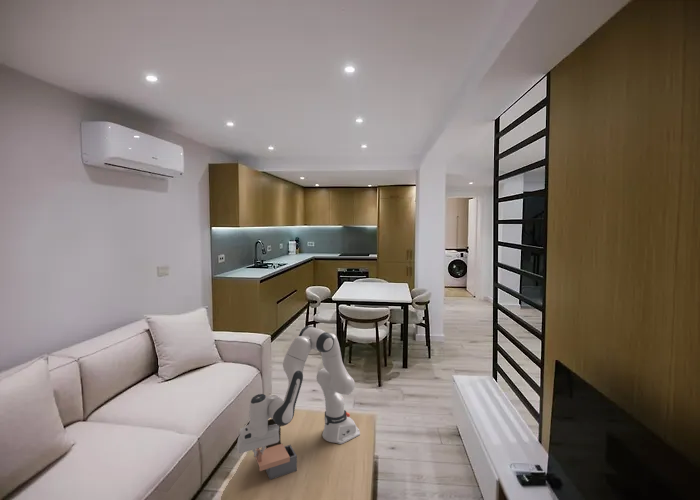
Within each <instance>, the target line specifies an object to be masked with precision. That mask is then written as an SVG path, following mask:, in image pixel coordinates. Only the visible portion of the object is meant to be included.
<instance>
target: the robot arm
mask: <svg viewBox="0 0 700 500" xmlns="http://www.w3.org/2000/svg"><path fill="white" fill-rule="evenodd" d="M312 350H315V351H319V352H320V353H321V360H322V366H323V367H322V368H320V369H319V370H318V371H317V374H316V377H315V378H316V382H317V384H318V385H319V386H320V388H321V390H322V393H323V396H324V403H325V412H324V428H323V431H322V435H321V436H322V438H323V440H325V441H327V442H328V443H336V444H338V445H342V444H345V443H346V442H348V441H351V440H353V439H354V438H357V437H359V436H361V431H360V429H359V427H358V426H357V425H356V423H355V421H354V419H353V418H351V414H350V412H348V411H347V410H346V409H345V399H344V397H343V395H344V396H345V395H346V396H348V395H351V394H352V393H353V391H354V390H355V387H356V386H355V385H356V382H355V380H354V378H353V377H352V376H351V375H350V374H349V372H348V370H347V369H346V367H345V364H344V362H343V358H342V352H341V347H340V343H339V340H338V336H337V335H336V334H335V333H332V332H326V331H325V330H323V329H321V328H318V327H315V326H312V325H306V326H304V327H303V328H302V329H301V331H300V332H299V334H298V336H296V337H295V338H294V339H293V341H292V343H291V344H290V345H289V347H288V349H287V351H286V353H285V356H284V358H283V361H282V368H283V371H284V373H285V374H286V377H287V380H288V386H287V389H286V393H285V397H284V399H282V398H281V397H280V396H278V395H275V394H273V395H266V394H263V393H259V394H256V395H253V397H252V398H251V400H250V402H249V410H248V414H249V415H248V416H249V423H248V424H247V425H245V426H243V427H241V428H240V429H239V435H238V438H237V443H236V445H237V446H236V448H237V449H236V450H237V452H238V453H239V454H243V453H247V452H249V451H252V452H253V457H254V456H255V457H254V458H256V456H258V452H257V451H256V449H257V448H259V449H260V448H261V449H260V451H261V454H262V455H263V451H264V450H265V449H266V446H268V445H271V444H274V443H278V442H279V432H278V431H279V426H281V427H284V426H286V425H289V424H290V423H291V422H292V420H293V418H294V416H295V410H296V409H295V408H296V404H297V401H298V398H299V394H300V390H301V387H302V383H303V381H304V380H303V379H304V374H303V373H304V368H305V365H306V362H307V359H308V357H309V354H310V352H311V351H312ZM269 419H273V420H274V422H275V423H276V424H274V425H269V426H268V420H269Z"/></svg>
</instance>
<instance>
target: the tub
mask: <svg viewBox="0 0 700 500" xmlns="http://www.w3.org/2000/svg"><path fill="white" fill-rule="evenodd" d="M284 447H285V449H286V451H287V453H288V454H289V456H290V462H287V463H284V464H281V465H278V466H275V467H271V468H268V469H265V470H264V471H265V472H266V474H267V477H268V479H269V480H270V481H271V480H273V479H276V478H279V477H283V476H285V475H288V474H291V473H295V472H297V470H298V456H297V454H296V452H295V450H294V448H293V447H292V444H289V445H284Z"/></svg>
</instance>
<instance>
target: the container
mask: <svg viewBox="0 0 700 500" xmlns="http://www.w3.org/2000/svg"><path fill="white" fill-rule="evenodd" d="M274 424H276V423H275V422H274V420H273V419H272V418H269V419H268V426H269V425H274ZM281 427H282V426H279V431H278V432H279V442H278V443H274V444H271V445H268V446H266V448H269V447H272V446H276V445H279V444H282V442H281V430H282V428H281ZM266 448H265V449H266Z"/></svg>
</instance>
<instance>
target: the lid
mask: <svg viewBox="0 0 700 500" xmlns="http://www.w3.org/2000/svg"><path fill="white" fill-rule="evenodd" d="M284 446H285V445H284V443H281V444H279V445H276V446H272V447H269V448H265V450H264V451H263V455H262V454H261V451H260V450H261V449H260V448H257V449H256V451H257V452H258V456H256V457H255V456H254V455H253V457H254V458H255V459H256V462H257V465H258V467H259V472H262V471H266V470H265V469H268V468H271V467H275V466H278V465H281V464H284V463H287V462H290V456H289V454H288V453H287V451H286V449H285V447H284Z"/></svg>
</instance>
